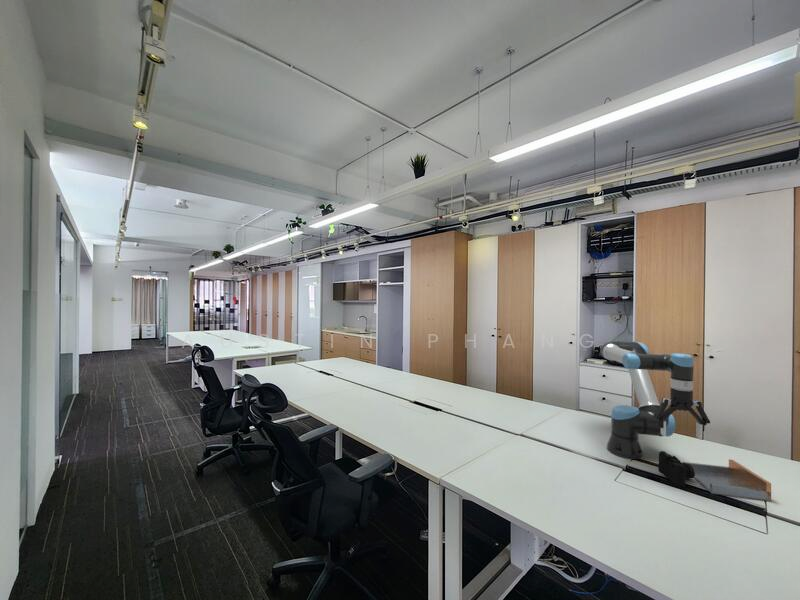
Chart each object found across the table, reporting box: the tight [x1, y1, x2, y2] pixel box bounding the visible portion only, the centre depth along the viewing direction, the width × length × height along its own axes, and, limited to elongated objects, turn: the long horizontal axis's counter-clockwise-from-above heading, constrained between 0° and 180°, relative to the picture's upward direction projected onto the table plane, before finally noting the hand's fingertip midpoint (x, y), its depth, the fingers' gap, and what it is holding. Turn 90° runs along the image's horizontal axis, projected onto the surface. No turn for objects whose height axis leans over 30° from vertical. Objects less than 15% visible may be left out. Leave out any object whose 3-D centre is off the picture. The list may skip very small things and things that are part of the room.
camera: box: [657, 450, 695, 488], centre depth 141 cm, size 14×11×10 cm
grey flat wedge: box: [681, 458, 772, 502], centre depth 138 cm, size 20×19×7 cm
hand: (681, 436), depth 141 cm, fingers open, 13 cm apart
